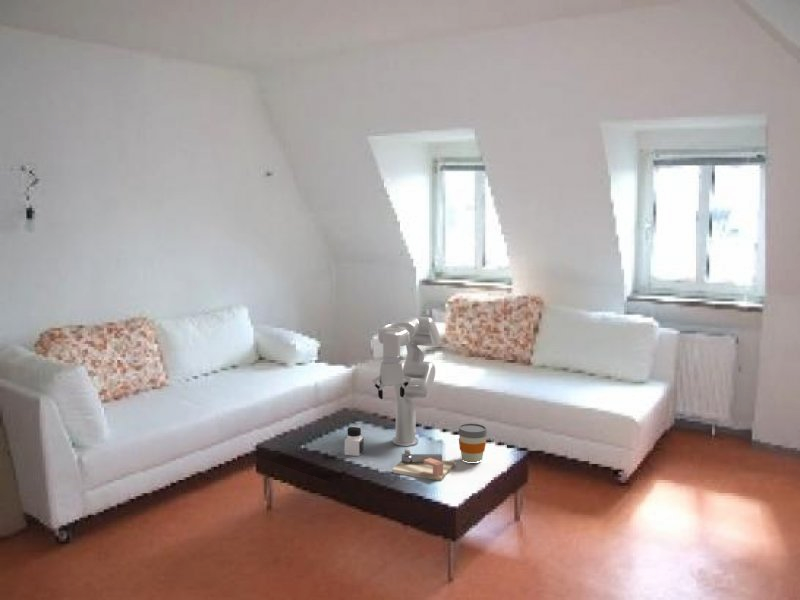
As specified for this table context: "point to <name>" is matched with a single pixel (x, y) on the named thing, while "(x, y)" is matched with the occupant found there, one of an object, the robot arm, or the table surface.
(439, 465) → the keeper
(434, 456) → the steel link
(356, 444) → the medicine bottle
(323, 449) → the table surface
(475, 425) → the reusable coffee cup
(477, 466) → the table surface
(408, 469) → the birch board
